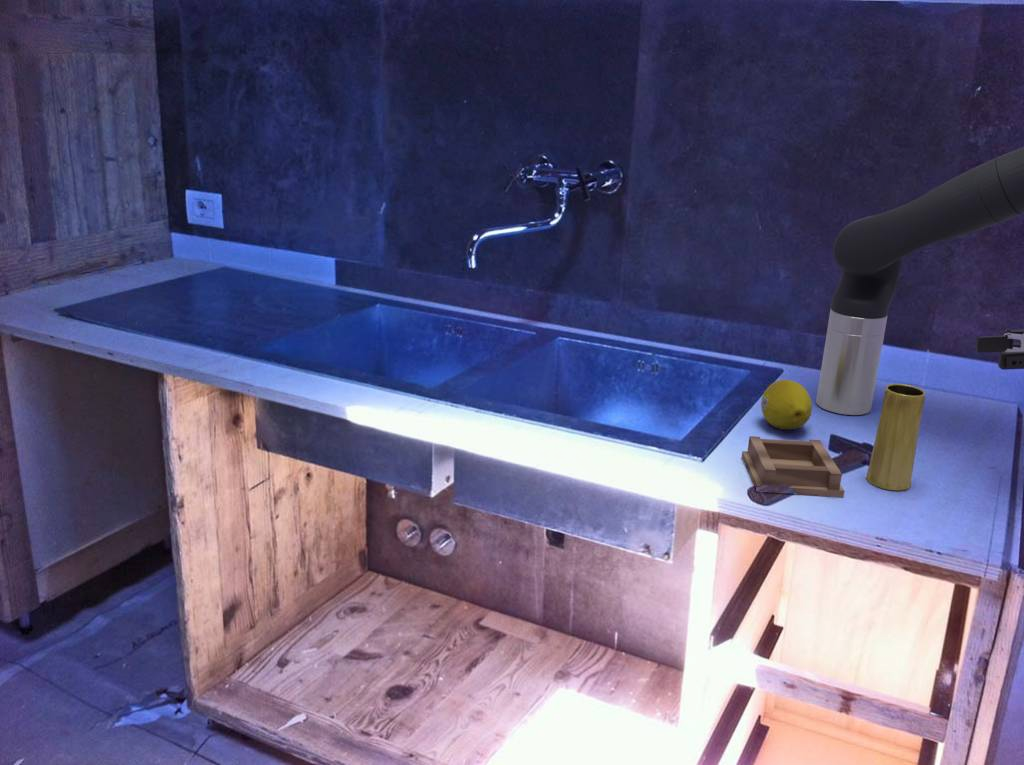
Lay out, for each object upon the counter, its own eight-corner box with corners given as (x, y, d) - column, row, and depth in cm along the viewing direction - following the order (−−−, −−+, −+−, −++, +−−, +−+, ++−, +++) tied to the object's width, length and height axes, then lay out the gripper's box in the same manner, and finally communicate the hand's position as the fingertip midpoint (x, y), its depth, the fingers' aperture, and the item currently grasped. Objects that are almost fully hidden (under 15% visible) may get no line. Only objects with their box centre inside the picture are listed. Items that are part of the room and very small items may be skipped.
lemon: (755, 414, 160) (761, 370, 157) (802, 418, 159) (809, 373, 156) (762, 438, 149) (768, 391, 147) (812, 443, 148) (819, 396, 146)
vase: (910, 494, 132) (929, 400, 127) (864, 486, 134) (881, 392, 129) (910, 477, 137) (928, 386, 132) (866, 470, 139) (882, 379, 135)
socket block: (741, 457, 142) (744, 435, 141) (821, 461, 142) (825, 440, 140) (756, 492, 131) (759, 469, 130) (843, 497, 130) (847, 474, 129)
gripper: (1092, 308, 132) (970, 314, 134) (1145, 333, 119) (1009, 339, 121) (1087, 359, 134) (967, 364, 136) (1139, 389, 121) (1005, 394, 123)
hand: (987, 352), depth 128 cm, fingers open, 8 cm apart
